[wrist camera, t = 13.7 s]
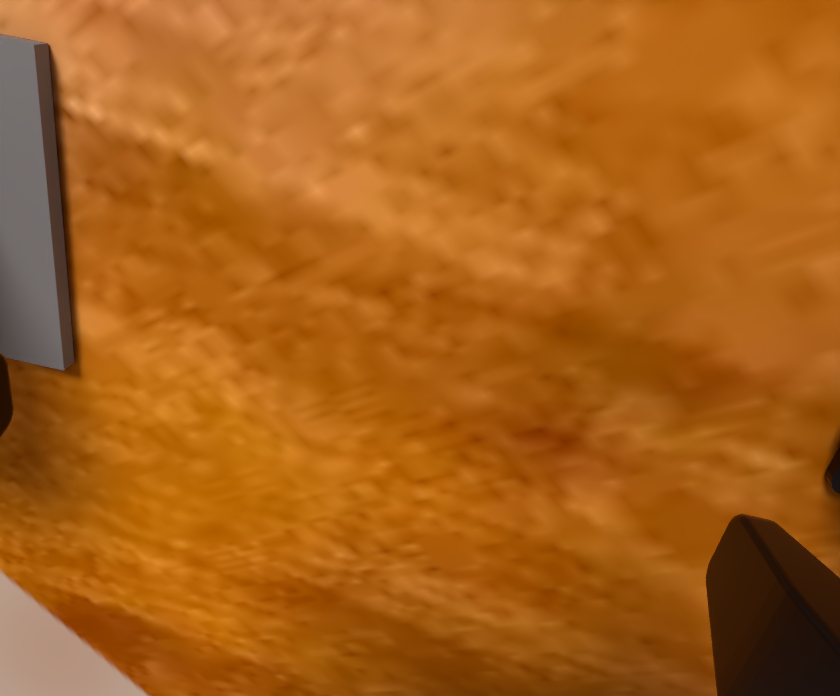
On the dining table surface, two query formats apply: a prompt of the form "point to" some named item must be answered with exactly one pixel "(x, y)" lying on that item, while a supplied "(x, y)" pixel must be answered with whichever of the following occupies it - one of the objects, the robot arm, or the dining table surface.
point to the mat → (31, 213)
